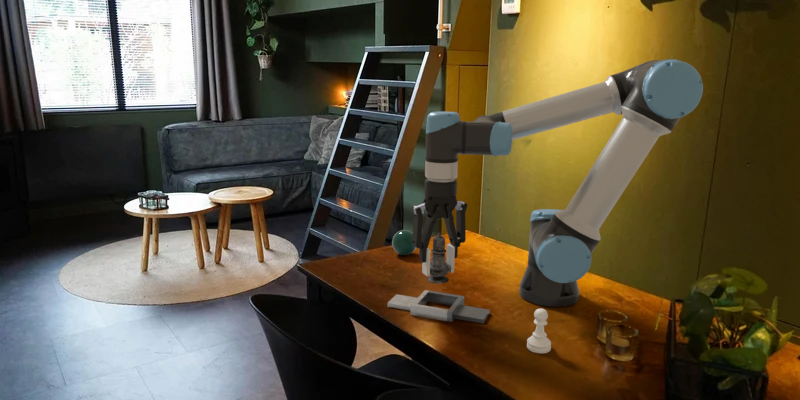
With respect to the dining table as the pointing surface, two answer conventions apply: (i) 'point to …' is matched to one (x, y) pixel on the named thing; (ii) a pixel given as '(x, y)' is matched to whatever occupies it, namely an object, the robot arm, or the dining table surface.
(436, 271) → the grey chess piece
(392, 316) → the dining table surface
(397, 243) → the sphere
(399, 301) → the flanged square frame
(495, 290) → the dining table surface
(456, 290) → the dining table surface
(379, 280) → the dining table surface
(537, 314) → the chess pawn
